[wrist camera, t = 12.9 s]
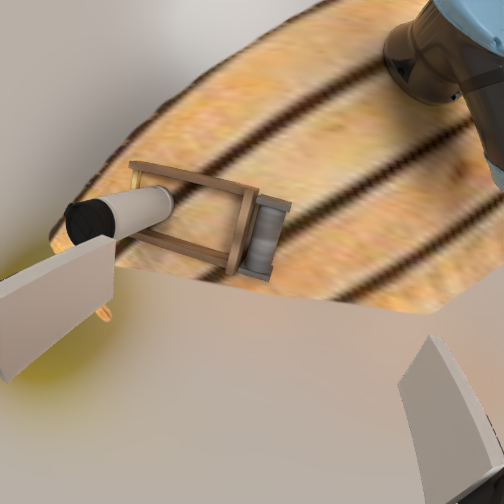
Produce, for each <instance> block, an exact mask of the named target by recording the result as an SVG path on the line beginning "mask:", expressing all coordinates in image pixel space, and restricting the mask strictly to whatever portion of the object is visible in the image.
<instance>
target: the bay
mask: <svg viewBox="0 0 504 504" xmlns="http://www.w3.org/2000/svg"><path fill="white" fill-rule="evenodd" d="M129 168H131V169H134V172H133V178H132V184H131V190H135V189H139V185H140V179H141V173H142V171H145V172H150V173H154V174H159V175H163V176H168V177H172V178H176V179H181V180H185V181H189V182H193V183H197V184H201V185H205V186H209V187H213V188H217V189H221V190H225V191H229V192H233V193H236V194H240V195H244V197H243V201H242V205H241V209H240V213H239V217H238V221H237V226H236V230H235V234H234V238H233V242H232V247H231V251H230V255H229V254H226V253H223V252H219V251H216V250H213V249H210V248H206V247H203V246H200V245H197V244H193V243H190V242H187V241H184V240H181V239H177V238H174V237H171V236H168V235H164V234H161V233H158V232H155V231H152V230H148V229H143V230H141V231H138V232H136V233H134V234H132V235H129V237H132V238H135V239H138V240H141V241H144V242H147V243H150V244H153V245H156V246H159V247H162V248H165V249H168V250H171V251H174V252H177V253H180V254H183V255H186V256H189V257H192V258H196V259H199V260H202V261H205V262H208V263H211V264H214V265H218V266H221V267H224V268H226V272H225V274H228V275H231V276H233V275H234V273H235V272H236V270H237V269H238V267H239V266H240V267H239V270H238V273H241V274H244V275H247V276H251V277H254V278H257V279H260V280H264V281H267V282H269V279H270V276H271V273H272V270H273V266H271V263H272V260H273V257H274V253H275V250H276V246H277V243H278V240H279V236H280V233H281V229H282V226H283V222H284V219H285V215H286V212H289V211H290V208H291V205H292V202H288V201H285V200H281V199H278V198H274V197H271V196H267V195H263V194H261V195H260V196H258V192H259V189H258V188H255V187H251V186H247V185H243V184H240V183H236V182H232V181H228V180H224V179H220V178H216V177H212V176H207V175H203V174H199V173H195V172H190V171H186V170H181V169H177V168H172V167H168V166H163V165H158V164H153V163H148V162H143V161H130V162H129ZM257 196H258V197H257ZM256 203H258V204H260V206H259V210H258V214H257V218H256V222H255V225H254V229H253V233H252V237H251V241H250V245H249V248H248V252H247V256H246V258H245V259H244V261H243V262H242V264H241V265H240V263H241V259H242V255H243V251H244V247H245V243H246V239H247V235H248V231H249V227H250V223H251V220H252V216H253V212H254V208H255V204H256Z"/></svg>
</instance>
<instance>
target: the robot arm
mask: <svg viewBox="0 0 504 504" xmlns="http://www.w3.org/2000/svg"><path fill="white" fill-rule="evenodd" d="M384 58H385V62H386V65H387V68H388V70H389V72H390V74H391V76H392V77H393V79H394V80H395V81H396V83H397V84H398V85H399V86H400V87H401V88H402V89H403V90H404V91H405V92H406V93H407V94H408V95H410V96H411V97H413V98H414V99H416V100H418V101H420V102H422V103H425V104H428V105H432V106H443V105H447V104H449V103H452V102H454V101H456V100H458V99H459V98H460V97H461V96H462V95H463V97H464V99H465V101H466V103H467V106H468V108H469V111H470V113H471V116H472V118H473V121H474V123H475V126H476V129H477V131H478V134H479V137H480V140H481V143H482V146H483V149H484V157H485V159H486V161H487V162H488V164H489V167H490V171H491V174H492V177H493V180H494V182H495V184H496V185H497V186H498V187H499V188H500V190H501V191H502V192H504V0H429V1H428V2H427V4H426V5H425V6H424V8H423V9H422V11H421V12H420V13H419V15H418V16H417V17H416V19H415V20H414V21H411V22H408V23H404V24H401V25H399V26H397V27H396V28H395V29H394V30H393V31H392V32H391V33H390V35H389V36H388V38H387V39H386V42H385V45H384ZM115 244H116V240H115V239H113V238H110V237H107V236H104V235H100V236H98V237H95V238H93V239H91V240H88V241H86V242H84V243H81V244H79V245H77V246H74V247H72V248H70V249H68V250H65V251H63V252H61V253H59V254H56V255H54V256H52V257H50V258H48V259H46V260H44V261H42V262H39V263H37V264H35V265H33V266H31V267H29V268H27V269H25V270H23V271H21V272H18V273H15V274H13V275H11V276H9V277H7V278H6V279H5V280H4V279H3V280H1V281H0V377H1V378H2V379H3V380H4V381H5V382H6V383H9V382H10V381H11V380H12V379H13V378H14V377H16V376H17V375H18V374H19V373H20V372H21V371H22V370H24V369H25V368H26V367H27V366H28V365H30V364H31V363H32V362H33V361H34V360H35V359H37V358H38V357H39V356H40V355H41V354H43V353H44V352H45V351H46V350H47V349H49V348H50V347H51V346H52V345H54V344H55V343H56V342H57V341H58V340H60V339H61V338H62V337H63V336H65V335H66V334H67V333H68V332H70V331H71V330H72V329H73V328H75V327H76V326H77V325H78V324H80V322H82V321H83V320H85V319H86V318H87V317H89V316H90V315H91V314H92V313H94V312H95V311H96V310H98V309H99V308H100V307H102V306H103V305H104V304H105V303H107V302H108V301H109V300H111V299H112V298H113V289H114V287H113V286H114V260H115ZM397 385H398V388H399V391H400V395H401V398H402V401H403V405H404V408H405V412H406V415H407V419H408V423H409V427H410V430H411V435H412V438H413V442H414V447H415V451H416V455H417V460H418V465H419V470H420V475H421V480H422V485H423V491H424V497H425V503H426V504H456V503H458V504H504V452H503V449H502V447H501V445H500V442H499V440H498V438H497V437H496V433H495V431H494V429H492V424H491V422H490V420H489V418H488V416H487V415H486V414H485V412H484V410H483V408H482V406H481V404H480V402H479V400H478V398H477V397H476V395H475V393H474V391H473V389H472V387H471V385H470V384H469V382H468V380H467V378H466V376H465V375H464V373H463V371H462V369H461V368H460V366H459V364H458V363H457V361H456V359H455V358H454V356H453V354H452V353H451V351H450V349H449V348H448V346H447V345H446V343H445V341H444V340H443V338H441V337H437V336H433V335H428V337H427V339H426V341H425V342H424V344H423V346H422V348H421V349H420V351H419V352H418V354H417V356H416V357H415V359H414V360H413V362H412V363H411V365H410V366H409V368H408V370H407V371H406V373H405V374H404V375H403V377H402V378H401V380H400V381H399V383H398V384H397Z"/></svg>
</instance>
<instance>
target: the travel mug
mask: <svg viewBox="0 0 504 504" xmlns="http://www.w3.org/2000/svg"><path fill="white" fill-rule="evenodd" d="M173 209H174V199H173V196H172V194H171V193H170V191H169V190H168V189H167V188H165V187H163V186H159V185H157V186H151V187H145V188H140V189H135V190H130V191H125V192H120V193H115V194H111V195H106V196H102V197H97V198H93V199H90V200H86V201H82V202H78V203H75V204H74V205H73V203H70V204H69V205H68V207H67V208H66V210H65V212H64V215H65V217H66V230H67V233H68V236H69V238H70V240H71V241H72V243H73V244H74V245H75V246H77V245H79V244H81V243H84V242H86V241H88V240H91V239H93V238H95V237H98V236H100V235H104V236H107V237H110V238H113V239H115V240H116V241H119V240H121V239H123V238H125V237H127V236H129V235H132V234H134V233H136V232H138V231H141V230H143V229H145V228H147V227H150V226H152V225H154V224H157V223H159V222H161V221H164V220H166V219H167V218H168V217H170V215H171V214H172V212H173Z"/></svg>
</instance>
